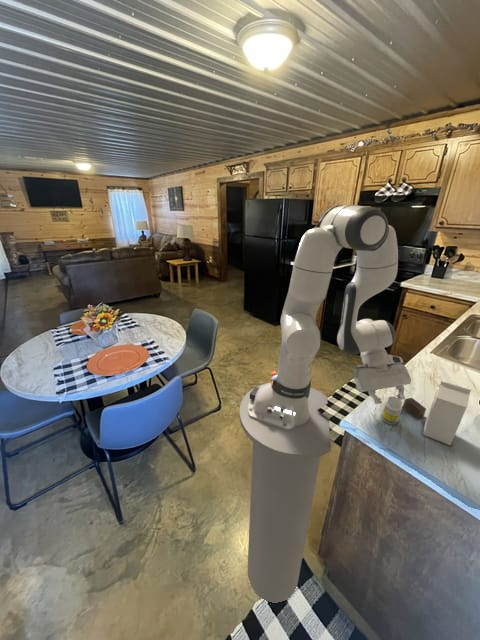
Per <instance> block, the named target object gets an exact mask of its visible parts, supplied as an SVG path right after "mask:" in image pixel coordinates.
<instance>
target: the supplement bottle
mask: <svg viewBox="0 0 480 640" xmlns="http://www.w3.org/2000/svg"><path fill="white" fill-rule="evenodd" d="M402 401H403V400H400V399H398V397H397V396H389V397H388V399H387V401H386V402H385V405H384V409H383V412H382V416H381V417H382V420H383V421H384V422H385V423H387V424H389V425H396V424H398V422H399V418H400V416H401V415H400V414H401V411H402V405H403V402H402Z"/></svg>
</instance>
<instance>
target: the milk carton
mask: <svg viewBox="0 0 480 640" xmlns="http://www.w3.org/2000/svg"><path fill="white" fill-rule="evenodd" d="M471 391H472V389H470V388H467V387H464V386H460V385H458V384H453V383H451V382H447V381H443V380H441V381H440V383H439V384H438V386H437V387H436V391H435V393H434V396H433V398H432V402H431V404H430V407H429V410H428V412H427V415H426V418H425V421H424V427H423V435H424V436H426V437H428V438H431V439H433V440H436V441H438V442H441V443H443V444H445V445H448V446H451V445H452V443H453V440H454V438H455V436H456V433H457V431H458V428H459V427H460V424H461V422H462V419H463V417H464V415H465V412H466V410H467V408H468V403H469V398H470V394H471Z"/></svg>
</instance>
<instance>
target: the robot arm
mask: <svg viewBox="0 0 480 640" xmlns="http://www.w3.org/2000/svg"><path fill="white" fill-rule="evenodd" d="M396 233H397V232H396V230H395V228H394V227H393V226H392V225H390V224H389V220H388V218H387V216H386V214H385V213H384V212H383V211H382V210H380V209H378V208H376V207H373V206H363V205H358V204H345V205H342V204H338V205H333V206H332V207H330V208H328V209H327V210H326V211H324V213H323V214H322V215H321V217H320V218H319V221H318V222H317V224H316V225H315V227H313V228H310V229H308V230H306V231H305V233H304V234H303V235H302V237H301V239H300V242H299V245H298V248H297V251H296V254H295V256H294V257H295V258H294V261H293V267H292V272H291V276H290V282H289V286H288V290H287V294H286V298H285V300H284V305H283V307H282V311H281V315H280V320H279V321H280V331H281V345H280V352H279V356H278V362H277V363H278V364H277V371H276V370H273V371H271V375H270V376H271V379H270V382H271V383H270V382H267V383H268V384H266V383H264V384H265V385H262V384H261V385H262V386H261V387H260V388H258V387H257V386H254V387H253V388H252V389H253V390H252V389H251V390H252V392H250V401H249V404H248V415H249V417H250V418H253V419H255V420H258V421H261V422H264V423H267V424H270V425H272V426H275V427H278V428H281V429H284V430H287V431H290V430H292V429H293V428H295V427H296V426H300V425H303V424H305V423H306V422H307V421H308V420H309V418H310V412H309V406H308V397H309V395H310V389H311V388H312V385H311V376H312V367H313V363H314V359H315V356H316V354H317V353H318V351H319V350H320V347H321V331H320V329H319V326H318V325H317V314H318V311H319V309H320V307H321V305H322V304H323V302H324V300H325V299H326V298H327V294H328V290H329V286H330V282H331V279H332V274H333V270H334V267H335V261H336V258H337V256H338V255H339V252H340V251H341V250H342V249H343V248H345V249H352V250H355V252H356V270H355V273H354V276H353V277H352V279H351V281H350V282H349V283H348V284H347V285H346V287H345V290H344V295H343V301H342V308H341V316H340V323H339V327H338V331H337V335H336V342H337V346H338V348H339V350H340V351H341V352H343V353H344V354H346V355H348V356H355V355H358V354H360V360H361V362H362V364H357V365H354V367H353V368H352V374H353V377H354V383H355V387H356V390H357V391H358V392H359V393H364V392H365V393H366V392H367V393H368V396H369V397H371V399H372V400H373V402H374V404H375V405H379V404H382V403H383V402H382V398H381V397H378V396H377V394H376V393H377V392H376V391H378V390H384V389H390V388H396V390H397V394H396V398H398V399H400V400H401V401H403V400H405V399H406V397H405V386H407V385H411V383H412V378H411V376H410V373H409V371H408V369H407V367H406V365H405V364H403V363H404V360H403V358H402V357H401V356H398V355H392V354H389V353H388V352H387V350H386V349H385V348H388V347H390V346H392V345H393V344H394V343H395V341H396V339H397V334H396V330H395V328H394V326H393V325H392V324H391V323H390V322H389V321H387V320H385V319H378V320H377V319H376V320H373V319H371V318H362V319H360V320H358V316H359V315H358V314H359V311H360V307H361V306H362V305H363V304H364V303H366V301H368V300H369V299H370V298H372V297H374V296H376V295H377V294H379V293H381V292H383V291H385V290H387V288H389V287H390V286H391V285H393V283H394V282H395V280H396V278H397V275H398V269H399V268H398V267H399V248H398V247H399V246H398V238H397V234H396Z"/></svg>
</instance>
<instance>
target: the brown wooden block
mask: <svg viewBox="0 0 480 640" xmlns="http://www.w3.org/2000/svg"><path fill="white" fill-rule="evenodd" d="M402 405H403V406H402V409H404V410H405V411H406V412H407V413H409V415H411V416H412V418H414V419H415V420H418V419H423V418H424V416H425V413H426V410H427V408H426V407H425V406H424V405H422V404H421V403H419V402H418V401H417V400H416V399H414V398H413V397H409V398H405V399H404V402H403V404H402Z"/></svg>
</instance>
